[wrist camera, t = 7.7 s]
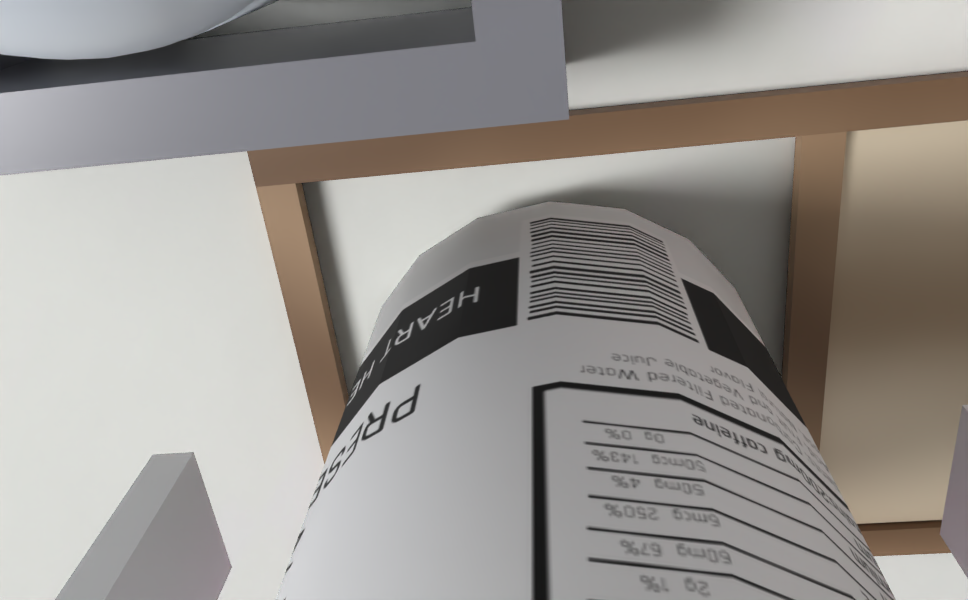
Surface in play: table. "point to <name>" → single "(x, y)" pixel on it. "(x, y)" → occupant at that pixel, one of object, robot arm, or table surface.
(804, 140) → the frame
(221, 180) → the table surface
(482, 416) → the supplement can
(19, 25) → the dome button
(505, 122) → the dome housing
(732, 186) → the table surface
